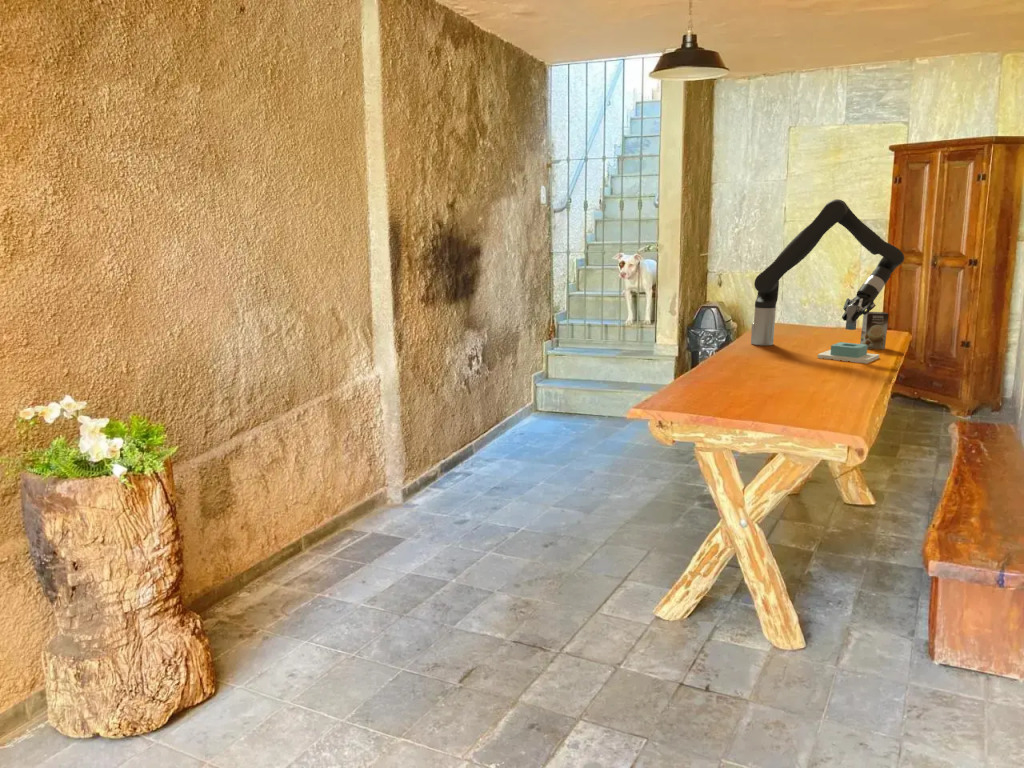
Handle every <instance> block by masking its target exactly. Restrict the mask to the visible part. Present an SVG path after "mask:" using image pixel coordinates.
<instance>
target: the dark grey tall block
mask: <svg viewBox="0 0 1024 768" xmlns="http://www.w3.org/2000/svg"><path fill="white" fill-rule="evenodd" d="M857 308H858V305H847V316H846V321H845V330H848V331H854V330H857V320H858V319H857V320H856V321H855V322H853V321H852V320H851V318H852V316H853V315H854V313H855V312H857Z"/></svg>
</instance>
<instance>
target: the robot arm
mask: <svg viewBox="0 0 1024 768" xmlns="http://www.w3.org/2000/svg"><path fill="white" fill-rule="evenodd" d="M837 223H838V225H839V224H840V225H841V226H843V227H844V228H845V229H846V230H847V231H848V232H849V233H850V234H851V235H852V237H854V239H855V240H857V242H858V243H859V244H860V245H861V246H862V247H863V248H864V249H866V250H867V251H868V252H869V253H871V254H872V255H875V256H876V255H880V256H881V257H882V258H881V259H880V260H879V262H878V264H877V265H876V268H875V269H874V270H873V271H872V273H870V275H869V276H868V277H867V278H866V280H865V281H863V283H862V285H861V286H860V287H859V289H857V292H856V295H855V297H853V298H852V299H850V298H846V299H845V302H844V305H843V310H844V313H843V315H842V316H841V319H842V320H843V321H845V322H846V316H847V305H858V308H857V312H855V313H854V315H853V316H852V318H851V320H852V321H853V322H855V321H856V320H858V319H859V317H860V316H863V314H864V315H866V314H867V313H868V312H871V310H873V309H874V308H876V306H877V305H876V304H875V302H874V301H875V300H876V299H877V297H878V296H879V294H880V293H881V292H882V290H883V289H884V287H885V285H886V284H887V283H888V281H889V279H890V278H891V275H892V273H893V272H894V271H895V270H896V269H897V268H898V267H899V266H900V265H901V264H902V263H903V262H904V261H905V255H904V252H902V250H901V249H900V248H898V247H897V246H895V245H893V244H892V243H889V242H887V241H885V240H884V239H883V238H881V237H880V235H878V234H877V233H876V232H875V231H873V230H872V229H871V228H870V227H869V226H867V225H866V224H865V223H864V222H863V221H862V220H861V219H859V218H858V217H857V215H856V214H854V212H853V211H852V210H851V209H850V207H849V206H848V204H847V202H845V201H844V200H842V199H839V198H838V199H832V200H830V201H828V202H827V203H826V204H825V205H824V207H823V208H822V209H821V210H820V212H819V213H818V215H817V216H816V217H815V218H814V219H813V221H812V222H811V223H809V224H808V225H807V226H806V227H805V228H804V229H802V230H801V231H800V232H799V233H798V234H797V235H796V236H794V238H793V239H792V240H791V241H790V242H789V244H787V245H786V246H785V248H784V249H783V250H782V251H781V252H780V253H779V255H778V256H777V257H776V258H775V259H774V261H772V262H771V264H769V266H767V267H766V268H765V269H764V270H763V271H761V272H760V273H759V274H758V275H757V276H756V278H755V279H754V288H755V290H756V291H757V296H756V299H755V303H754V314H753V316H754V317H753V322H752V324H751V335H750V344H751V345H755V346H772V345H774V340H775V323H776V308H777V302H778V297H779V287H780V279H782V277H783V276H784V275H785V274H786V273H788V272H789V271H790V270H791V269H793V268H794V267H795V266H797V265H798V264H799V263H800V262H802V261H803V260H804V259H805V258H806V257H807V256H808V255H809V254H810V253H811V252H812V251H813V250H814V248H815V247H816V246H817V244H818V243H819V242H820V241H821V239H822V238H823V236H824V235H825V234H826V233H827V232H828V231H829V230H830V229H831V228H833V227H834V226H835V225H836V224H837Z"/></svg>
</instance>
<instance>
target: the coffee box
mask: <svg viewBox="0 0 1024 768" xmlns="http://www.w3.org/2000/svg"><path fill="white" fill-rule="evenodd" d="M861 323H862V325H861V333H860V341H859V342H860V343H859V344H865V345H868V346H867V350H885V349H886V341H887V333H888V324H889V313H888V312H884V311H869V312H868V313H867V314H866V315H864V314H862V322H861Z"/></svg>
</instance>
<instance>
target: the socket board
mask: <svg viewBox="0 0 1024 768" xmlns="http://www.w3.org/2000/svg"><path fill="white" fill-rule="evenodd" d="M867 346H868V345H865V344H860V343H855V342H854V343H852V342H845V341H839V342H837V343H834V344H831V345H830V349H828V350H826V351H823V352H820V353H818V354H817V359H823V358H824V360H831V359H833V360H832V361H840V360H842V361H841V362H848V361H850V363H858V364H865V365H866V364H867V365H868V364H869V363H873V361H876V360H878V359H880V354H877V353H868V349H867Z"/></svg>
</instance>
